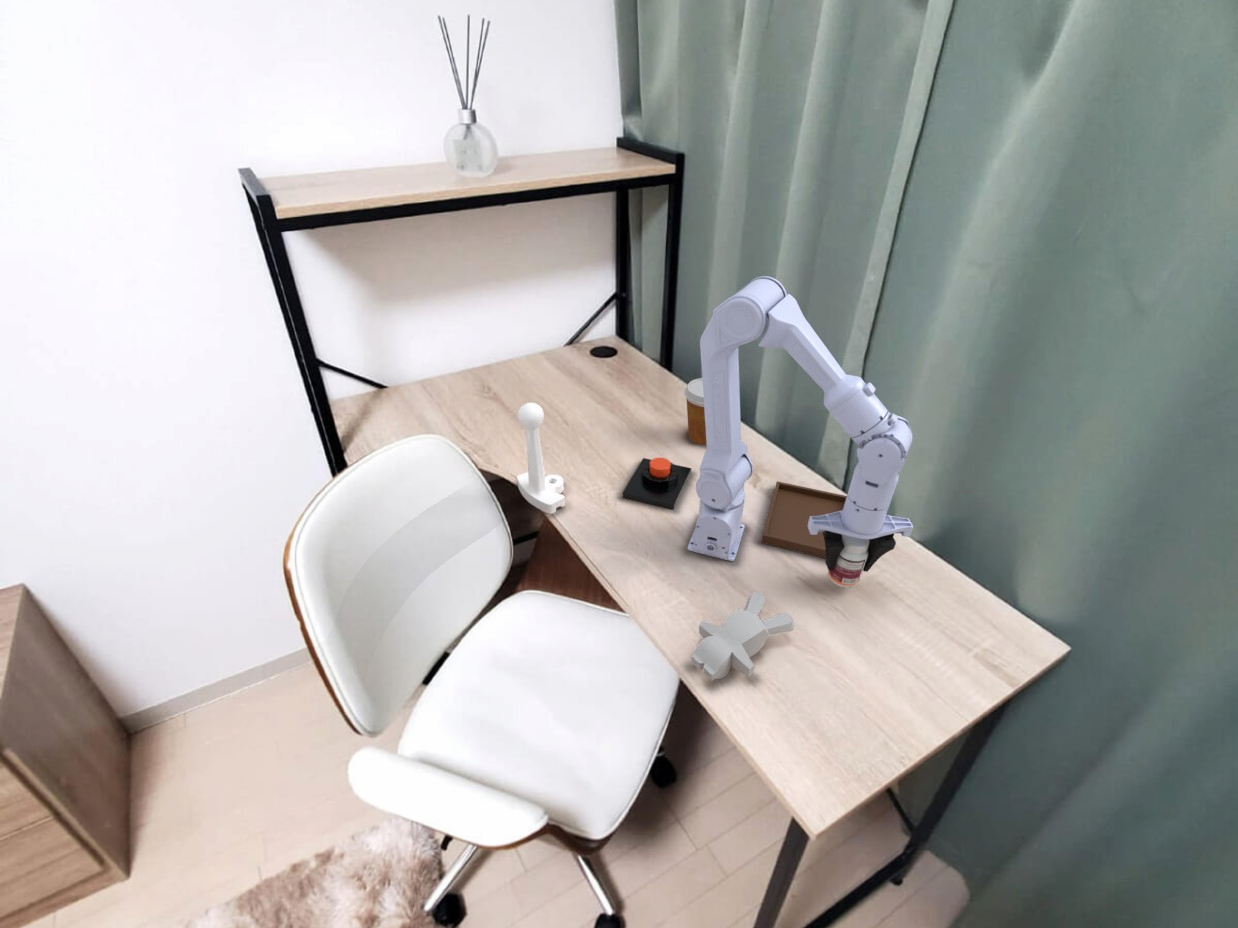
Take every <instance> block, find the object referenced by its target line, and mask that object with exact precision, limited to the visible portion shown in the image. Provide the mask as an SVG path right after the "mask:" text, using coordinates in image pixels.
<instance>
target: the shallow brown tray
mask: <svg viewBox="0 0 1238 928" xmlns="http://www.w3.org/2000/svg"><path fill="white" fill-rule="evenodd" d="M846 497H847V495H844V494H840V493H835V492H829V491H826V490H825V491H824V490H820V489H816V488H811V487H806V486H801V485H797V484H793V483H787V482H782V481H776V483H775V487H774V491H773V494H772V498H771V502H770V506H769V510H768V513H767V517H766V521H765V524H764V528H763V532H762V537H761V542H760V543H761V544H765V545H768V546H773V547H777V548H781V549H786V550H790V551H793V552H797V553H802V554H805V555H810V556H814V557H819V558H823V559H826V547H825V541H824V537H823V533H822V532H818V534H817V535H811V534H810V532H809V529H808V522H809V518H810V516H821V515H825V514H829V513H834V512H838V511H842V510H843V508H844V504H845V501H846ZM841 535H842V534H841Z"/></svg>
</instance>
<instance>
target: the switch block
mask: <svg viewBox="0 0 1238 928" xmlns="http://www.w3.org/2000/svg"><path fill="white" fill-rule="evenodd" d="M651 460H652V459H650V458H646V457H643V458H642V459H641V461H640V462H639V464H638V466H637V467H636V469H635V471H634V473H633V475H632V476H631V478H630V479H629V481H628V482H627V484H626V486H625V487H624V489H623V490H622V499H626V500H630V501H635V502H639V503H642V504H648V505H652V506H655V507H660V508H664V509H668V510H671V511H672V510H673V511H675V509H676V507H677V505H678V502H679V501H680V498H681V496H682V494H683V492H684V489H685V488H686V485H687V483H688V481H689V478H690V477H691V475H692V468H691V467H688V466H683V465H678V464H674V463H672V462H671V461H670V463H671V469H670V474H669V475H668V476H667V477H661V478H659V477H654V476H652V475H651V474H650V472H649V468H650V461H651Z"/></svg>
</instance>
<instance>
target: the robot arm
mask: <svg viewBox="0 0 1238 928" xmlns="http://www.w3.org/2000/svg"><path fill="white" fill-rule="evenodd" d="M759 338H761V340H760V342H759V343H758V347H760V348H770V349H771V348H775V349H783V350H785V351H786V352H787V353H788V354H789V355H790V356H791V357H792V358H793V359H794V361H795V362H796V363H797V364H798V365H799V366H800V367H801V368H802V369H803V370H804V372H806V373H807V375H809V377H810V378H811V379H812V380H813V381H814V382H815V383H816V384H817V385H818V386H819V387H820V388H821V389H822V391H823V395H824V397H823V406H824V407H825V408H826V410H827V411H828V412H829V413H830V414H831V416H832V417H833V418H834V419H835V421H836V422H837V423H838V424H839V426H840V427H841V428H842V429H843V430H844V432H845V433H846V434H847V435H848V436H849V438H850V439H851V440H852V441H853V442H854V443H855V444H856V445H857V446H858V448H857V449H856V457H857V460H858V462H857V464H856V465H855V467H854V469H853V470H854V471H853V473H852V476H851V477H852V478H851V481H850V484H849V487H848V491H847V494H846V496H847V497H846V501H845V504H844V508H843V510H842V511H838V512H834V513H829V514H825V515H821V516H810V518H809V522H808V529H809V532H810V534H811V535H817V534H818V532H822V533H823V537H824V541H825V547H826V558H825V564H826V567H827V570H828V571H833V570H834V569H835V566H836V563H837V559H838V557H839V555H840V553H841V551H842V550H843V549H844V547H845V546H844V544H843V541H842V535H841V534H843V535H847V536H851V537H855V538H859V539H869V546H868V557H867V560H866V563H865V566H864V569H863V572H867V573H868V572H869V570H870V569H872V566H873V565H875V563H876V562H878V560H879V559H880V558H881V557H883V556H884V555H885V554H887V553H888V552H891V551H893V550H894V549H895V547H896V544H897V542H896V539H895V538H894V536H895V534H901V536H902V537H905V538H908V537H911V535H912V532H913V529H914V526H913V523H912V522H911V520H910V518H909V517H899V516H893V515H890V514H888V511H889V509H890V505H891V502H892V501H893V500H892V499H893V496H894V493H895V491H896V488H897V485H898V482H899V479H900V473H901V471H902V469H903V468H904V467H905V464H906V459H907V456H908V453H909V452H910V451H909V450H910V448H911V445H912V442H913V439H914V435H913V433H914V432H913V430H912V428H911V426H910V424H909V420H908V419H906V418H905V417H902V416H900V415H897V414H895V413H893V412H892V413H891V412H890V411H889V410H888V409H887V407H886V406H885V405H884V404H883V403H882V401H881V399H879V398H878V397H877V396H876V394H875V392H876V390H877V389H876V387H875V386H874V385H873V384H872V382H868V383H866V382H865V381H864V380H863V378H862V377H860V376H857V375H851V374H846V372H845V371H844V370H843V368H842V367H841V366H840V365H839V363H838V362H837V360H836V358H835V357H834V356H833V355H832V353H831V352H830V350H829V349H828V348H827V346H826V345H825V344H824V342H823V341H822V339H821V338H820V337H819V335H818V334H817V332H816V331H815V330H814V329H813V327H812V326H811V324H810V323H809V321H808V320H807V319H806V318H805V316H804V314H803V312H802V310H801V307H800V305H799V304H798V301H797V299H796V298H794V296H792V295H791V294H790V293H787V290H786V288H785V287H784V285H783V284H782V283H781V282H780V281H779V280H778V279H776V278H774V277H772V276H768V275H767V276H766V275H763V276H762V275H761V276H757V277H755V278H753V279H751V280H750V281H749V282H747V283H746V284H745V285H743V287H741V288H740V289H738V290H737V291H736V292H735V293H734V295H732V296H729V297H728V298H727V299H726V300H724V301H723V302H722V303H720V304H719V305H718V306H716V308H714V309H713V311H712V317H711V318H710V320H709V322H708V323H707V325H706V327H705V329H704V330H703V333H702V334H701V336H700V339H699V349H700V365H701V378H702V381H703V396H704V411H705V426H706V441H707V445H706V449H705V452H704V454H703V457H702V459H701V463H700V466H699V477H698V479H697V480H696V481H697V482H696V484H695V491H696V494H697V496H698V498H699V506H698V515H697V516H698V517H697V520H696V521H695V522H696V523H695V527H694V530H693V532H692V535H691V538H690V539H689V542H688V544H687V550H688V551H689V552H693V553H697V554H700V555H704V556H709V557H713V558H718V559H721V560H726V561H729V562H734V561H736V560H735V559H736V557H737V553H738V550H739V546H740V543H741V541H742V537H743V534H744V531H745V527H746V526H745V524H744V523H742V518H743V513H744V506H745V499H746V491H745V483H746V482H747V481H748V480H749V479H750V478H751V477H752V475H753V474H754V463H753V461H752V459H751V458H750V455H749V452H748V451H749V450H748V444H746V443H745V442H743V441H742V424H741V423H742V420H741V395H740V393H741V392H740V391H741V390H740V365H739V363H740V361H739V347H741V346H742V345H746V344H749V343H751V342H754V341H756V340H757V339H759Z"/></svg>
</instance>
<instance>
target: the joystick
mask: <svg viewBox="0 0 1238 928" xmlns="http://www.w3.org/2000/svg"><path fill="white" fill-rule="evenodd" d="M517 419H518V422H519V424H520V425H521V426H522V427H523V428H524V429H525V439H526V454H527V455H526V456H527V458H526V460H527V471H526V472H524V473H521V474H519V475H517V476H516V481H517V482H516V483H517V488H518V490H519V492H520V494H521V496H522V497H523V498H524V499H525V500H526V501H527V502H528V503H529V504H530V505H532V506H533V507H535V508H536V509H538V510H540V511H541V512H543V513H547V514H549V515H552V514H554V513H556V512H557V508H559V507H561V508H563V507H565V505H566V497H565V495H564V494H561V493H563V492H564V489H565V485H564V484H565V483H564V478H563V477H562V476H561V475H559V474H549V475H546V473H545V466H544V458H543V451H542V444H541V436H540V426H541V425H542V424H543V422H544V419H545V413H544V409H543V408H542V406H540V404H539V403H538V404H537V403H535V402H526V403H524V404H523V405H521V407H520V408H519V409H518V411H517Z"/></svg>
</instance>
